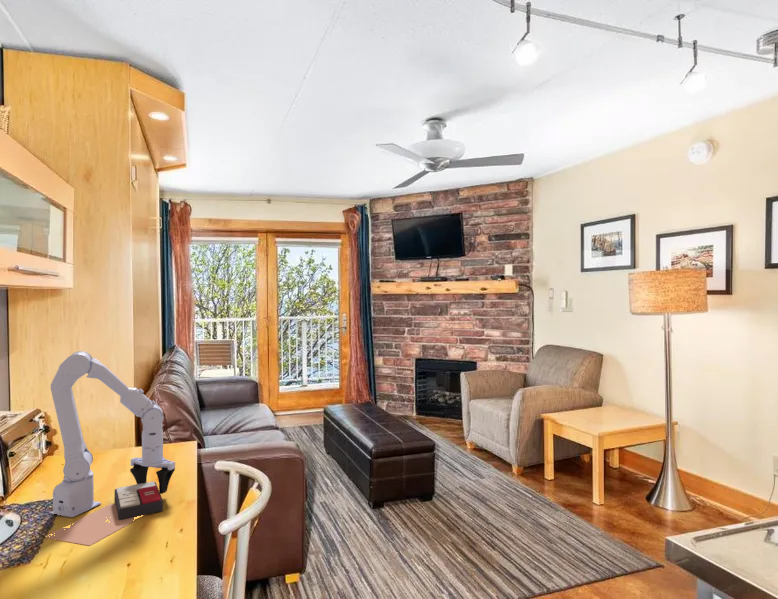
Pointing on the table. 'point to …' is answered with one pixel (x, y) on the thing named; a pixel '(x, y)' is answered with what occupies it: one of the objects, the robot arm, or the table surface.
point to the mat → (92, 527)
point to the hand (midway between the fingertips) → (152, 491)
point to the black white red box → (138, 500)
